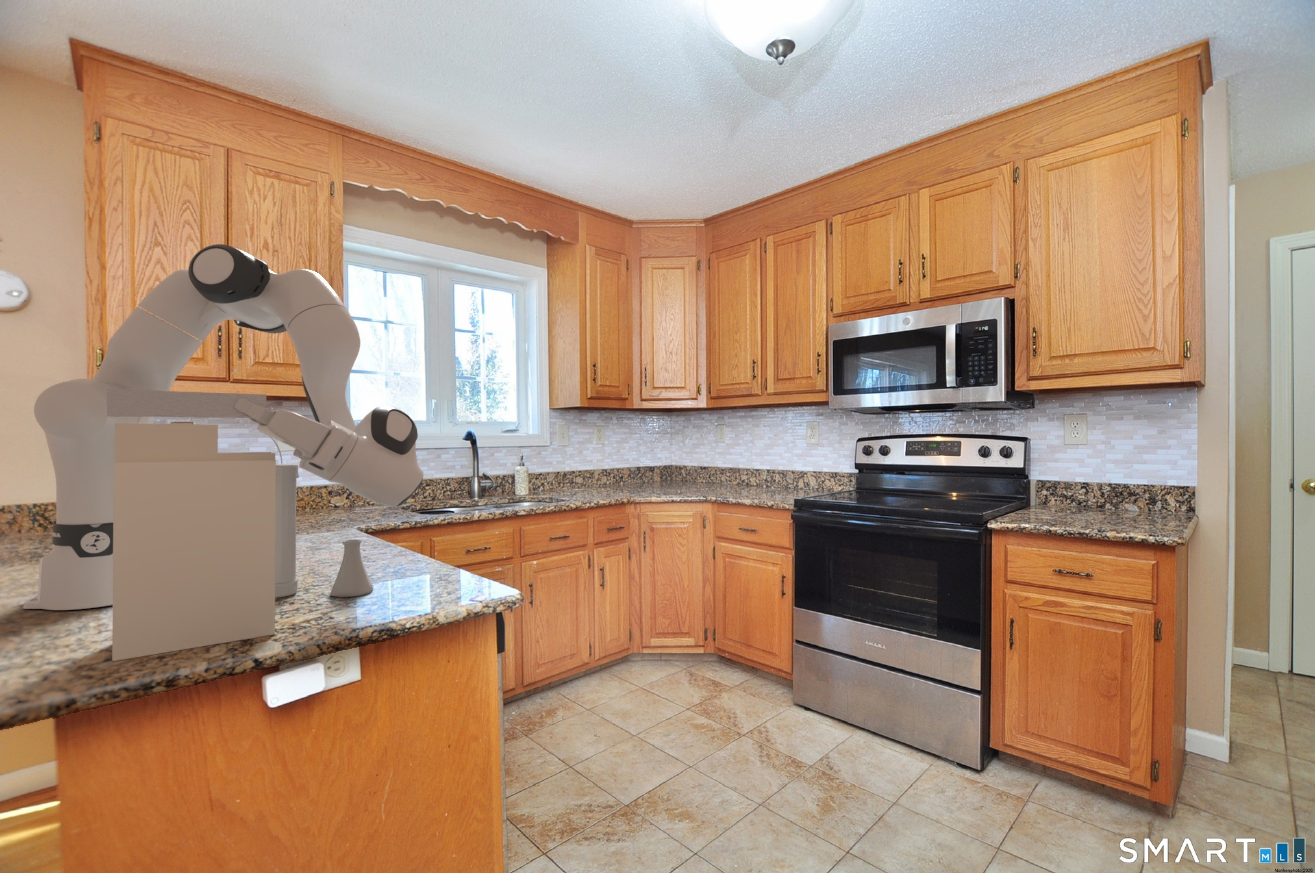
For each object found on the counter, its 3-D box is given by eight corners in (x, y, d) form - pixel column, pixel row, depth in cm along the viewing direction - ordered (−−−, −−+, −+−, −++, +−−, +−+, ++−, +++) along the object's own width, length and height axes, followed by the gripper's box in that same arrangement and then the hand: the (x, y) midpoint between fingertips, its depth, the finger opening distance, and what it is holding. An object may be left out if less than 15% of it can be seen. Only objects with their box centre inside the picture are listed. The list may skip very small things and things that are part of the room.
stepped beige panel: (119, 640, 86) (121, 424, 86) (268, 617, 97) (269, 426, 97) (112, 661, 78) (114, 423, 78) (274, 634, 89) (276, 425, 89)
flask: (361, 598, 109) (361, 544, 109) (321, 598, 109) (322, 543, 110) (380, 588, 117) (380, 537, 117) (343, 588, 117) (343, 537, 117)
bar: (109, 416, 83) (109, 390, 83) (264, 418, 94) (264, 395, 94) (106, 415, 80) (106, 389, 80) (266, 418, 91) (266, 394, 91)
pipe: (281, 599, 109) (282, 433, 109) (252, 597, 110) (253, 433, 110) (305, 591, 114) (306, 433, 114) (277, 589, 115) (278, 433, 115)
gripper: (325, 431, 107) (243, 389, 100) (348, 431, 91) (253, 381, 84) (304, 462, 105) (220, 422, 98) (324, 467, 89) (225, 419, 82)
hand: (235, 403), depth 91 cm, fingers closed on bar, 3 cm apart
